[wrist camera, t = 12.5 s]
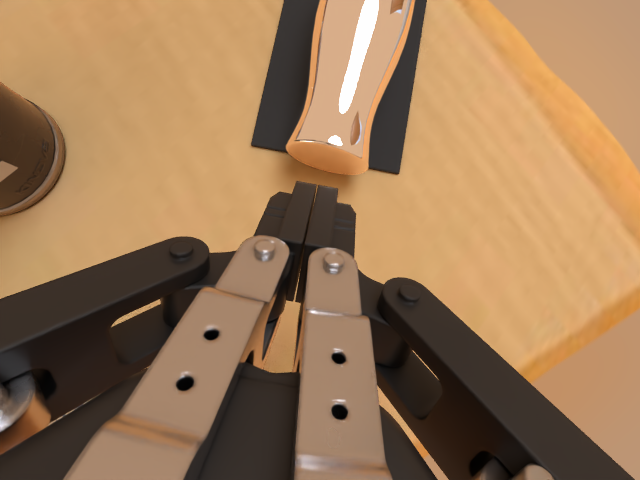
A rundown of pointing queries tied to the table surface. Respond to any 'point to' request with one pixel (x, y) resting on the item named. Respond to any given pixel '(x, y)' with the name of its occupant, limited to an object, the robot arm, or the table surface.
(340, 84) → the copper cup
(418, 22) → the mat
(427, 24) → the table surface
